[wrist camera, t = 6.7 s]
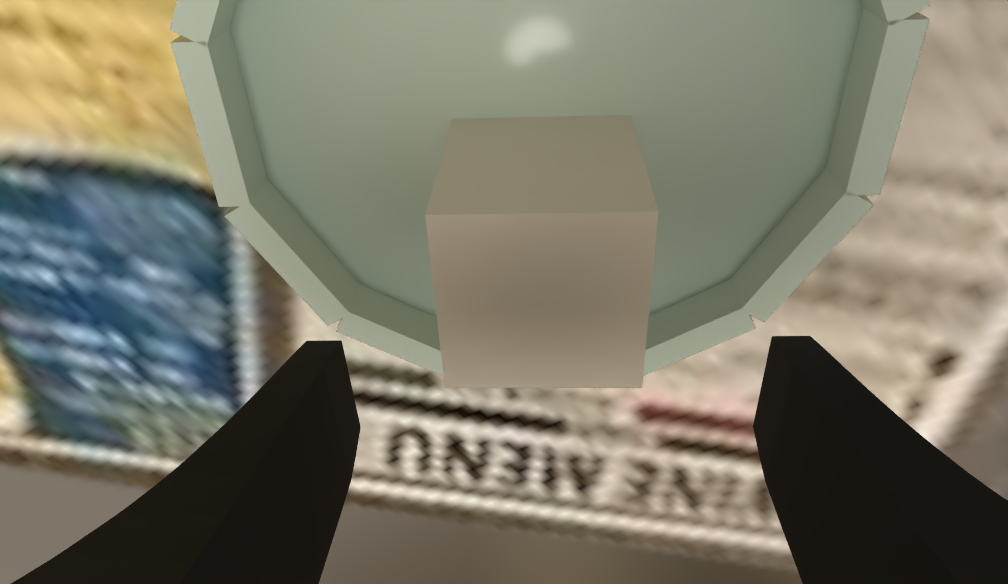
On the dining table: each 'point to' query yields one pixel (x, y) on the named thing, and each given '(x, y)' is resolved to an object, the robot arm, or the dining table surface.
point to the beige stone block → (542, 252)
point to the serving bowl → (547, 93)
